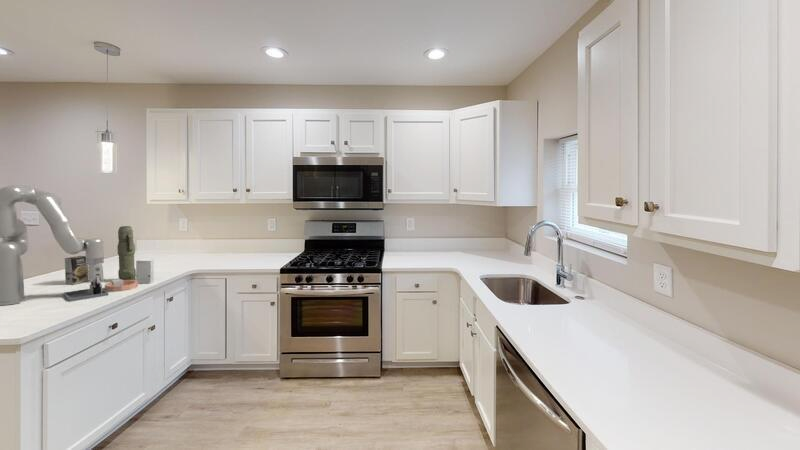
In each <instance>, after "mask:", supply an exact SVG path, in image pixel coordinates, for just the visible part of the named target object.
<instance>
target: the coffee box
mask: <svg viewBox="0 0 800 450" xmlns="http://www.w3.org/2000/svg"><path fill="white" fill-rule="evenodd" d="M64 271H65V272H64V274H65V277H64V278H65V284H66V285H72V286H74V285H79V284H82V283H88V282H89V274H88V265H87V264H86V255H78V256H71V257H64Z"/></svg>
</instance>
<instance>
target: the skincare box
mask: <svg viewBox="0 0 800 450" xmlns="http://www.w3.org/2000/svg"><path fill="white" fill-rule="evenodd" d="M135 264H136V265H135V269H136V281H138V285H139V284H141V285H143V284H151V283H154V280H155V279H154V278H155V272H154V271H155V268H154V267H155V259H154V258H139V259H136V262H135Z"/></svg>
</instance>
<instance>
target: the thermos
mask: <svg viewBox="0 0 800 450" xmlns="http://www.w3.org/2000/svg"><path fill="white" fill-rule="evenodd" d="M117 237H118V238H117V239H118V240H117V241H118V244H117V246H116V247H117V248H116V249H117V255H118V272H117V274H118V279H122V280H136V265H135V252H136V247H135V243H134V231H133V228H132V226H130V225H129V226H127V225H125V226H124V225H123V226H120V227H118V231H117Z"/></svg>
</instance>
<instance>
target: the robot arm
mask: <svg viewBox="0 0 800 450" xmlns="http://www.w3.org/2000/svg"><path fill="white" fill-rule="evenodd" d="M22 202H24V203H27V204H30V205H34V206H35V207H36V208H37V210H38V212H39V213H40V214H41V215H42V218H43V219H45V221H46V223H47V224H48V225H49V228H50V230H51V232H52V235H53V237H54V239H55V241H56V242H57V243H58V245H59V247H60V248H61V249H62V250H63V251H64V252H65V254H69V255H76V254H79V253H81V252H85V256H86V264H87V265H88V278H89V280H90V284H94V287H93V294H94V295H95V294H101V284H102V283H101V282H104V281H105V278H104V276H105V275H104V267H103V264H104V260H105V259H104V241H103V239H102V238H80V237H77V238H76V236H75V235H74V233H73V231H72V229H71V219H70V218H69V215H68V214H67V213H66V212H65V210H64V209H63V208H62V207H63V206H61V205H62V200H61V198H60V196H58V195H56V194H54V193H50V192H48V191H45V190H41V189H38V188H35V187H32V186H30V185H29V186H28V185H23V184H19V185H18V184H15V185H7V186H3V187H1V188H0V239H2V241H1V242H0V306H8V305H9V306H10V305H16V304H20V303H22V302H27V301H29V299H30V297H29V296H27V295H25V283H24V267H23V261H22V258H21V256H23V255H24V254H26V253H27V252H28V250H29V238H28V228H27V224H26V223H25V222H24V221H23V220H21V219H19V218H18V217H17V208H16V203H22Z"/></svg>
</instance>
